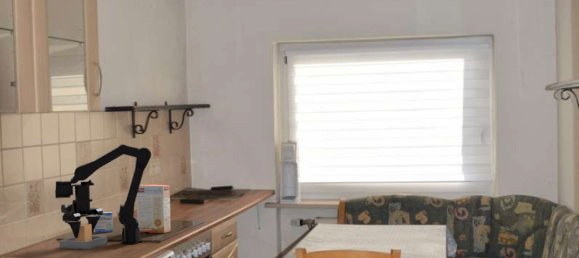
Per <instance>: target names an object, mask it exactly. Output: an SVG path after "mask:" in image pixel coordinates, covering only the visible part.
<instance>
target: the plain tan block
mask: <svg viewBox="0 0 579 258" xmlns="http://www.w3.org/2000/svg"><path fill="white" fill-rule="evenodd" d="M92 236H93V233H92V225H91V224H88V223H81V225H80V230H79V235H78V238H75V240H76V241H85V242H87V241H90V240H92Z"/></svg>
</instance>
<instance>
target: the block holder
mask: <svg viewBox="0 0 579 258" xmlns="http://www.w3.org/2000/svg"><path fill="white" fill-rule="evenodd" d="M107 244H108V236H107V235H106V236H105V235H92V240H90V241H87V242H85V241H76V240H75V237H74V236H72V237H68V238H64V239H60V240H59V249H70V250H82V251H83V250H85V251H87V250H90V249H91V250H92V249H94V248H98V247H101V246H105V245H107Z"/></svg>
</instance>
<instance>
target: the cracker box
mask: <svg viewBox="0 0 579 258" xmlns="http://www.w3.org/2000/svg"><path fill="white" fill-rule="evenodd" d="M170 187H171V186H170V185H169V184H140V186H139V190H138V193H137V197H136V220H137V221H138V223H139V225H138V227H140V233H145V232H149V234H150V233H151V234H167V233H170V232H171V230H172V229H171V193H170V192H171V191H170V190H171V189H170Z"/></svg>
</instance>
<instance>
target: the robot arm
mask: <svg viewBox="0 0 579 258" xmlns="http://www.w3.org/2000/svg"><path fill="white" fill-rule="evenodd" d="M123 155H125V156H129V157H133V158H135V161H134V170H133V173H132V177H131V180H130V184H129V188H128V192H127V194H126V195H127V196H126V198H125V201H124V203H123V204H121V203H120V204H119V209H118V211H117V215H116V216H118V217H117V218H118V221H119V223H120V224H121V225H122V226H124V227H122V231H121V241H120V244H124V245H127V244H128V245H136V244H138V243H141V242H142V243H143V240H142V239H141V232H140V227H138V225H139V223H138V221H137V218H135V217H134V215H135V204H136V201H137V193H138V190H139V186H140V185H141V183H142V179H143V175H144V171H145V170H146V169H147V165H148V164H149V162H150V160H151V158H152V152H151V150H150V149H149V148H147V147H145V146H144V147H143V146H141V147H139V148H138V147H133V146H130V145H126V144H123V143H122V144H120V145H118V146H117V147H115V148H114V149H112V150H110V151H108V152H106V153H105V154H103V155H101V156H100V157H98V158H96V159H94V160H92V161H89V162H87V163H83V164H80V165H78V166H77V167H76V168H75V169H74V173H73V176H72V178H70V180H67V181H66V180H64V181H61V180H56V181H55V190H54V193H55V194H54V195H55V197H54V198H55V199H69V198H71V196H74V197H75V199H72V201H71V204H67V203H63V204H62V205H61V204H60V212H61V213H62V217H61V219H62V222H64V223H65V224H68V226H70V229H71V232H72V234H73V237H75V238H78V235H79V230H80V225H81V224H82V220H81V218H83V217H84V218H86V220H87V224H91V225H92V234H93V233H94V232H95V227H96V224H97V222H98V220H99V219H100V217H101V216H100V215H103V212H104V210H103V208H101V207H91V202H93V198H91V191H90V189H91V186H95V182H94V181H92V180H91V178H90V179H89V177H91V176H92V175H93V174H95V173H96V171H98V170H99V169H100V168H102V167H104V166H105V165H107V164H109V163H111V162H112V161H114V160H116V159H118V158H120V157H122V156H123ZM88 179H89V180H88ZM86 180H87V181H86ZM79 181H80V183H79Z"/></svg>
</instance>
